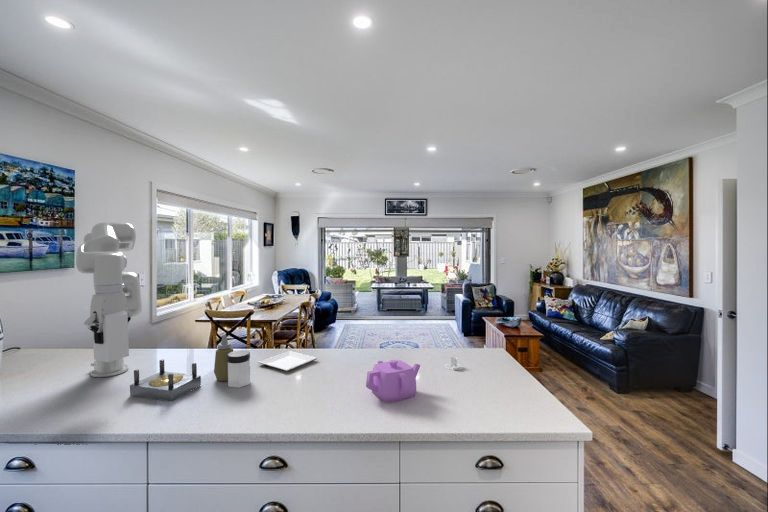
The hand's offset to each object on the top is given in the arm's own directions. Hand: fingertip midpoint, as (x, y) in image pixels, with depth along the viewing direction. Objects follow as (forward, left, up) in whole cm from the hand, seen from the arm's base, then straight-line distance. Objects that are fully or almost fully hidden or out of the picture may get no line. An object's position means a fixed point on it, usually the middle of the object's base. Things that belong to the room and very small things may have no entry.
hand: (111, 339), depth 127 cm
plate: (+40, +50, -22) cm, 67 cm away
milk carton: (0, 0, -7) cm, 7 cm away
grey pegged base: (+11, +12, -22) cm, 27 cm away
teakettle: (+93, +32, -22) cm, 101 cm away
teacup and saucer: (+111, +62, -22) cm, 129 cm away
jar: (+33, +24, -22) cm, 46 cm away
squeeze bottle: (+24, +27, -22) cm, 42 cm away
